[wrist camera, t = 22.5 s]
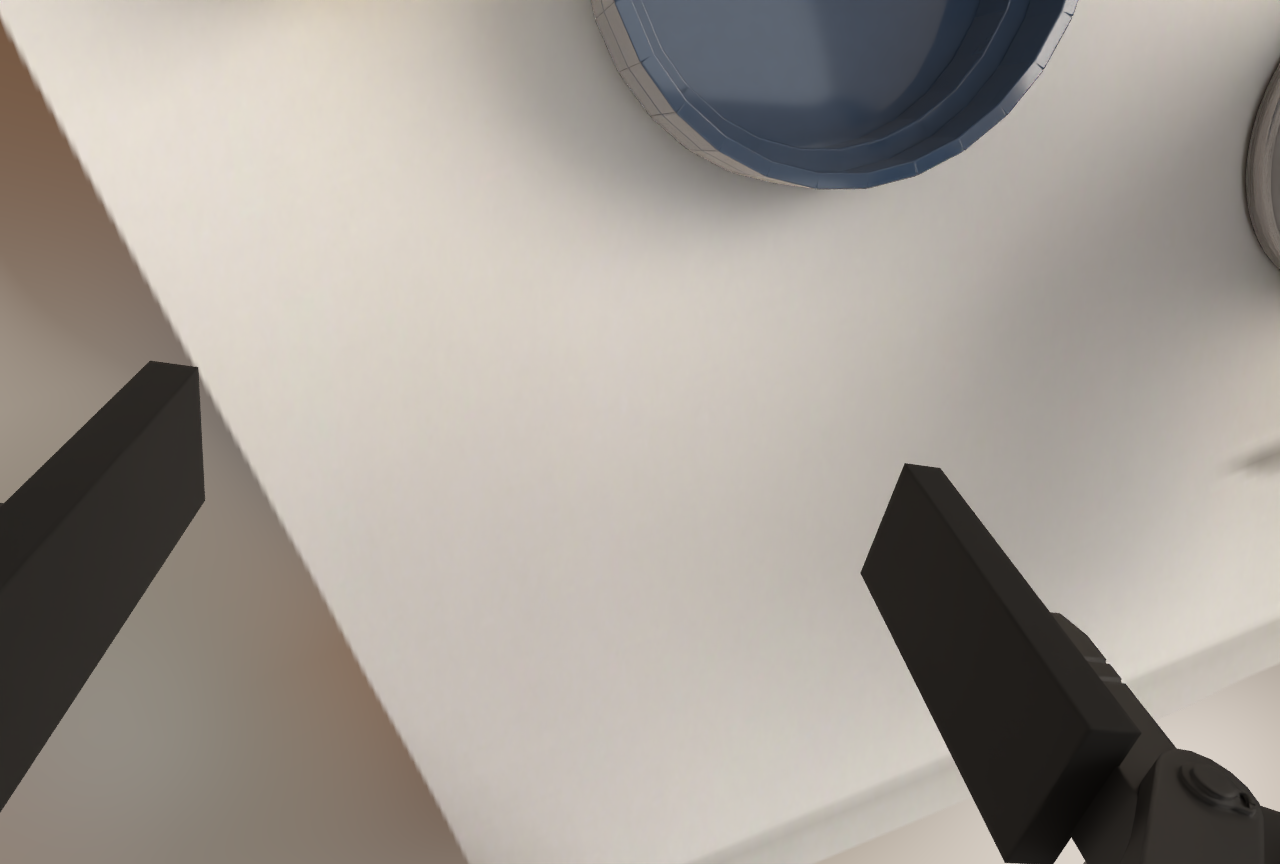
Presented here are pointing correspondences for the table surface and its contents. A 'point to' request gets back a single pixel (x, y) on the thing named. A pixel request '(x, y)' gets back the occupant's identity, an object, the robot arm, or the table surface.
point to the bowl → (830, 79)
